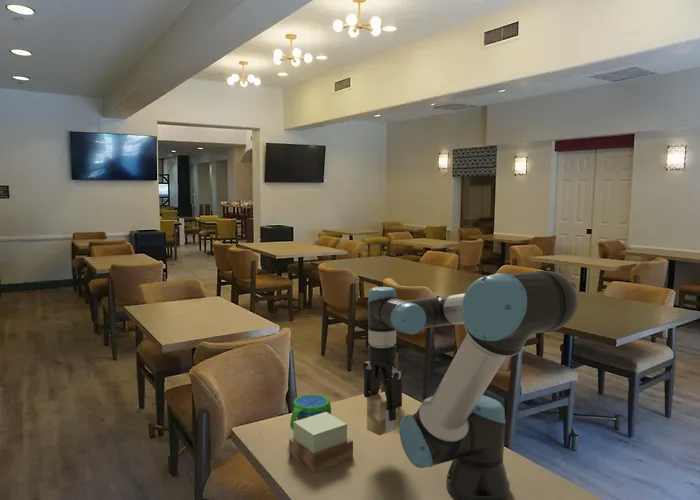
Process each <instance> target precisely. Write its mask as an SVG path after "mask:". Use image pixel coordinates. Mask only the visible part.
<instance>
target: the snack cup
mask: <svg viewBox="0 0 700 500" xmlns="http://www.w3.org/2000/svg"><path fill="white" fill-rule="evenodd" d="M293 406H294V408H293V410H292V414H291V416H290V423H289V425H290V428H291V430H292V431H294V427H293V422H294V421H298V420H301V419H304V418H308V417H311V416H314V415H317V414H321V413H324V412H327V413H329V414H331V415H332V406H331V402H330V399H329V398H327V397H326V396H323V395H320V394H303V395H301V396H298V397H296V398H295V399H294V400H293Z"/></svg>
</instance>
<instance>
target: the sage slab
mask: <svg viewBox="0 0 700 500" xmlns="http://www.w3.org/2000/svg"><path fill="white" fill-rule="evenodd" d="M293 427H294V430H293V438H294V440H296V441H297V442H298V443H300V444H301V445H303V446H304V447H305V448H307V449H308V450H310V451H311V452H312V453H316V452H319V451H321V450H324V449H327V448H330V447H333V446H335V445H338V444H341V443H344V442H347V438H348V424H347V423H346V422H345V421H343V420H341V419H339V418H338V417H336V416H334V415H333V414H332V413H331V414H329V413H327V412H324V413H321V414H317V415H314V416H311V417H308V418H304V419H301V420H298V421H294V422H293Z"/></svg>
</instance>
